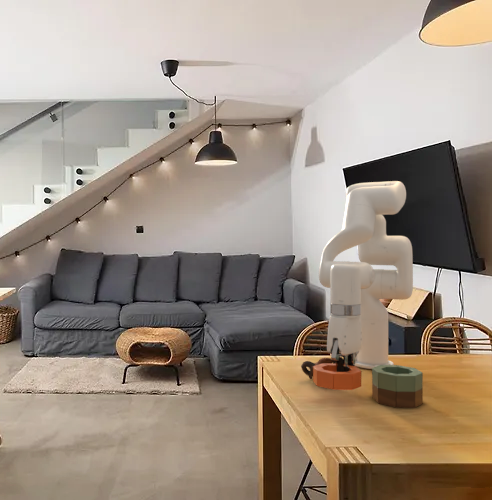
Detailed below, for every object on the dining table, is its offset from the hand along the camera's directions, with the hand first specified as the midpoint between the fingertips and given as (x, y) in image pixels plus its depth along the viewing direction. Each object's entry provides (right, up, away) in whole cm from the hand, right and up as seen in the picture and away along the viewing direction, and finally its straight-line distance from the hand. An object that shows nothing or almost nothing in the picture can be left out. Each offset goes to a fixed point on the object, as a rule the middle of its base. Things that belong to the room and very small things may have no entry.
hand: (345, 379), depth 141 cm
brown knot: (-1, -5, +15) cm, 16 cm away
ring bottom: (+12, -5, -3) cm, 14 cm away
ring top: (-3, 0, -3) cm, 5 cm away
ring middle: (+12, -1, -3) cm, 13 cm away
